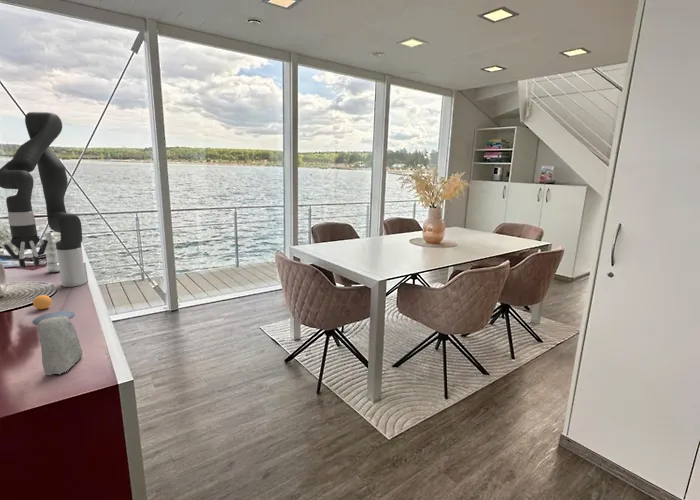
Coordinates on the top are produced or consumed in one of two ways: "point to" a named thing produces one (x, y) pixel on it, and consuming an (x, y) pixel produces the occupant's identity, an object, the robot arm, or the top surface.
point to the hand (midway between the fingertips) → (30, 266)
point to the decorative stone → (58, 344)
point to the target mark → (54, 314)
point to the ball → (42, 302)
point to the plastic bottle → (51, 253)
